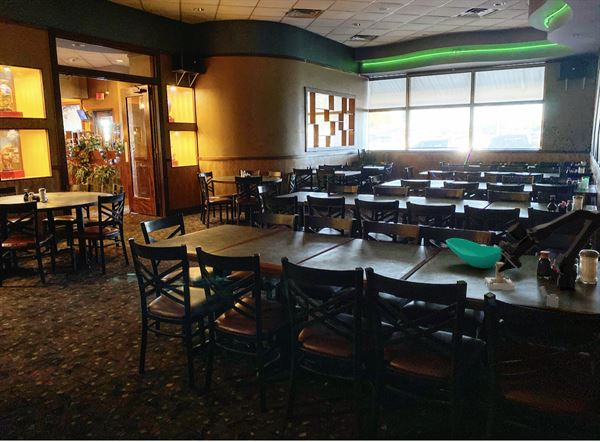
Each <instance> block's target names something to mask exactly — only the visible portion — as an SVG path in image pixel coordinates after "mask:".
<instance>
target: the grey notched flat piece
mask: <svg viewBox="0 0 600 442" xmlns="http://www.w3.org/2000/svg"><path fill="white" fill-rule="evenodd" d="M539 289H540V292H541V294H542V297H545V298H546V305H545V306H546V307H549V306H550V308H554V307H555V309H558V308H559V299H560V297H559V296H557V295H556V294H555V293H550V294H548V292H547V290H546V287H545V286H544V285H542V286H540V287H539Z"/></svg>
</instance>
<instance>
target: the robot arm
mask: <svg viewBox="0 0 600 442" xmlns="http://www.w3.org/2000/svg"><path fill="white" fill-rule="evenodd" d="M578 219H583V220H584V219H585V222H584V226H583V228H582V230H580V232H579V234H578V235H577V237H576V238H575V239H574V241H572V244H571V245H570V246H569V248H568V249H567V251H566V252H564V253H563V254H562V253H558V255H557V257H556V258H555V259H554V264H553V265H554V268H555V269H556V270H557V271H558V273H559V274H558V275H559V276H557V282H556V283H557V287H558V289H559V290H567V291H576V278H577V277H578V275H579V273H578V272H577V271H576V270H575V269H574V267H575V265H576V259H577V257H578V256H579V254H580V253H581V252H582V250H583V249H584V248H585V246H586V244H587V243H588V242H589V240H590V239H591V237H592V236H593V235H594V233H595V232H596V231H598V230H599V229H600V210H597V209H593V210H587V209H582V208H580V207H575V208H573V209H572V210H570V211H568V212H567V213H565V214H563V215H561V216H559V217H557V218H554V219H553V220H551V221H549V222H547V223H543V224H539V225H536V226H534V227H532V228H528V229H525V228H524V227H523V225H522V224H521V223H519V222H517V223H515V224H513V225H511V226H510V227H509V228H508V229H507V230H506V233H507V234H508V235H509V236H510V237H511V238H512V239H514V240H515V241H516V242H518V241H519V242H518V243H513V244H512V242H511V243H510V242H508V241H507V242H505V241H503V240H500V241H499V244H498V246H497V247H500V248H501V250H500V251H501V252H502V253H500V254H501V258H500V259H499V261H498V262H503V263H504V264H503V265H502V266H501V267H500V268H499V270H498V272H503V271H504V272H505V271H510V270H514V269H518V270H519V269H520V268H521V267H522V266H523V263H522V262H521V261H520V259H522V258H523V257H526V256H527V253H528V252H529V251H530V250H532V249H533V248H534V247H536V248H537V249H540V248H541V241H545V240H546V239H548V238H549V237H550V236H551V235H553V233H554V232H556V231H557V230H560V229H561V228H563V227H564V226H567V225H568V224H571V223H572V222H575V221H576V220H578ZM535 239H536V240H535ZM494 268H495V269H496V265H494Z"/></svg>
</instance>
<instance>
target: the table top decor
mask: <svg viewBox="0 0 600 442" xmlns="http://www.w3.org/2000/svg"><path fill="white" fill-rule="evenodd" d="M445 242H446V245H447V247H448V248H449V249H450V250H451V251H452V252H453V253H454V254H455V255H456V256H458V257H459V258H460V259H461V260H462V261H464V262H465V263H466V264H468V265H469V266H471V267H474V268H477V269H478V268H479V269H490V268H492V267H495V266H496V262H498V261H499V259H500V258H501V254H500V253H502V252H501V251H500V250H501V248H500V247H498V246H492V245H482V244H480V243H476V242H473V241H472V240H468V239H463V238H457V237H453V238H452V237H451V238H448V239H446V240H445Z"/></svg>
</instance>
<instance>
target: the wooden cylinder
mask: <svg viewBox="0 0 600 442" xmlns="http://www.w3.org/2000/svg"><path fill="white" fill-rule="evenodd" d="M503 264H504V263H503V262H496V265H495V266H496V268H495V274H494V275H495V277H494V278H495V283H503V278H505V276H504V274H505V273H504V272H505V271H503V272H498V270H499V268H500V267H501V266H502V265H503Z"/></svg>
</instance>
